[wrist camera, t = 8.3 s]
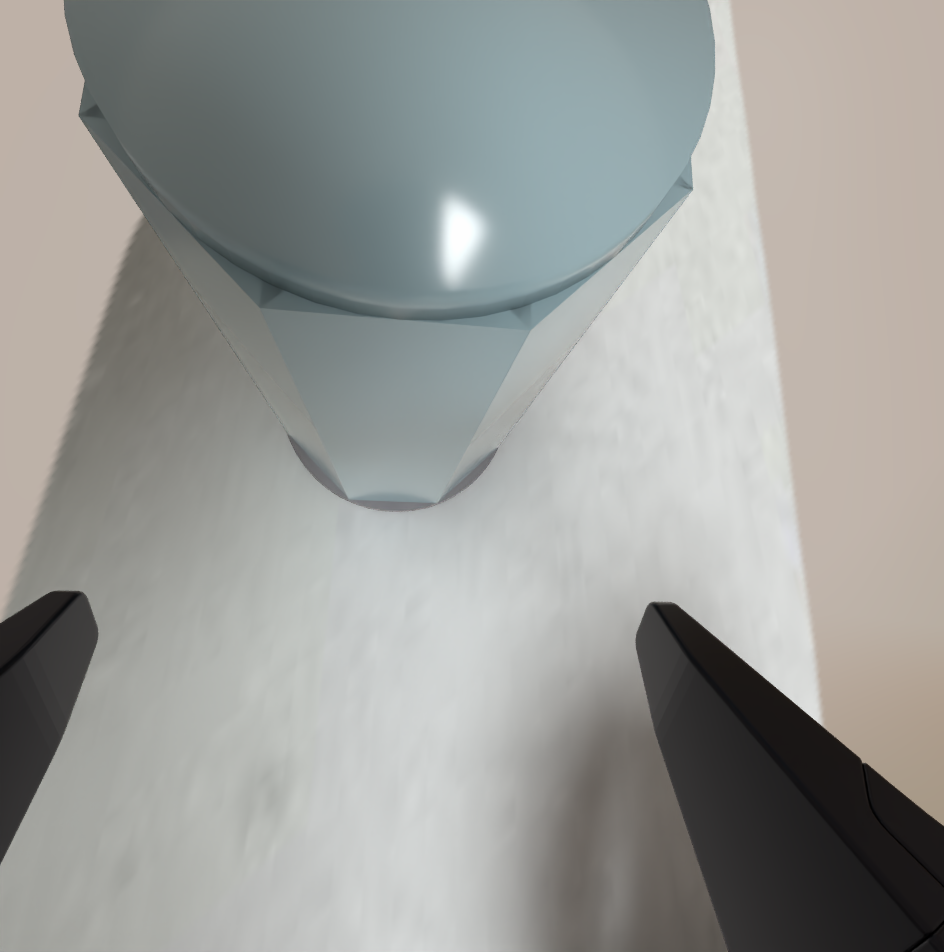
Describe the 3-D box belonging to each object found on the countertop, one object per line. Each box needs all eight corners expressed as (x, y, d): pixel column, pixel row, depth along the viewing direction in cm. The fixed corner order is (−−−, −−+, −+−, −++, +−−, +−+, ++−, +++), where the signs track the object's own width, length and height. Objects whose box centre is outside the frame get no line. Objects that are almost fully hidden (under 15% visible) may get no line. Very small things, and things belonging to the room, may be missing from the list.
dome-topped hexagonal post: (539, 409, 19) (827, 60, 6) (391, 545, 17) (393, 433, 5) (404, 269, 19) (430, -325, 7) (248, 391, 17) (-97, -87, 5)
